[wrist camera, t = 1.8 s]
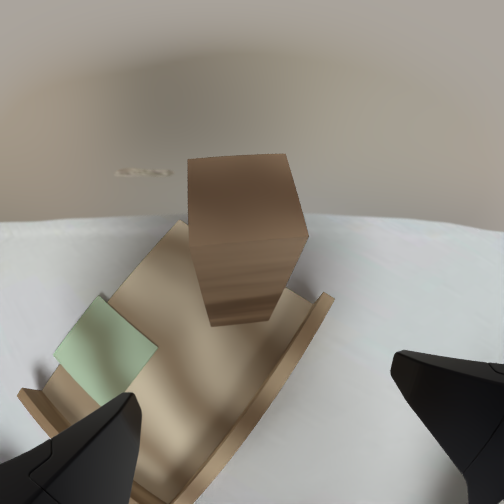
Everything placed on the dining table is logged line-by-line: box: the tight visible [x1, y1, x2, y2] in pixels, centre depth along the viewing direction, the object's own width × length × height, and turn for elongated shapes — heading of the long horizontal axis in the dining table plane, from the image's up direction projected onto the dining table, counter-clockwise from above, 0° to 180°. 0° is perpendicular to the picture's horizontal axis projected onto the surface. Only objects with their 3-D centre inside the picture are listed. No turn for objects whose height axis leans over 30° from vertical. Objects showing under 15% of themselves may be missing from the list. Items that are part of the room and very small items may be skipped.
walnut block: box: [188, 154, 309, 327], centre depth 18 cm, size 4×4×13 cm
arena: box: [17, 220, 335, 504], centre depth 19 cm, size 22×16×3 cm
